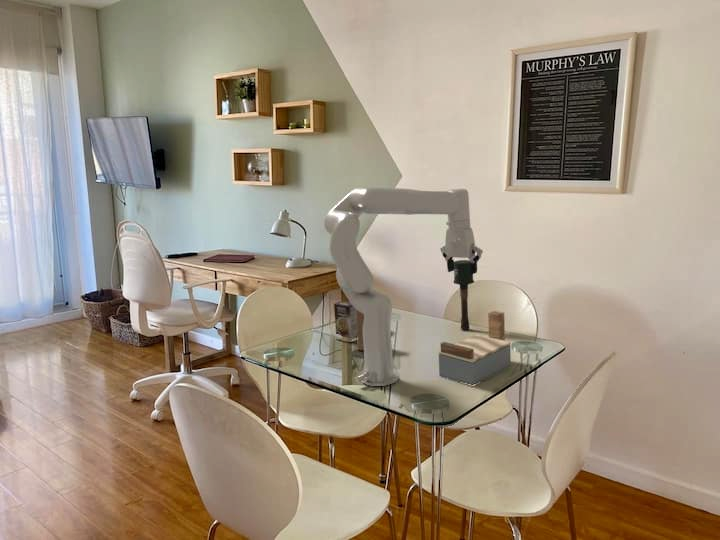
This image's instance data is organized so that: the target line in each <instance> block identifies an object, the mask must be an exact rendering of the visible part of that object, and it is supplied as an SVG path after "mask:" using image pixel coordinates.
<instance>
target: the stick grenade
mask: <svg viewBox="0 0 720 540" xmlns="http://www.w3.org/2000/svg"><path fill="white" fill-rule="evenodd" d="M470 263H471V261H470V260H469V259H462V260H456V261H455V260H454V271H453V276H454V277H453V279H454V280H453V284H455V285H459V290H460V291H459V295H460V304H461V306H460V308H461V309H460V310H461V312H460V313H461V319H460V329H461V331H464V332H465V331H469V330H470V320H469V313H468V308H469V307H468V304H469V303H468V297H469V288H468V287H469V285H471V284H473V283H475V280H474V274H470Z"/></svg>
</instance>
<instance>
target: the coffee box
mask: <svg viewBox="0 0 720 540" xmlns="http://www.w3.org/2000/svg"><path fill="white" fill-rule="evenodd" d="M333 307H334V308H333V309H334V321H335V322H334V323H335V325H334V326H335V335H336V334H339V335H341V336H343V337H346V338H349V339H351V340H352V339H354V338H357V337H358V336H357V321H356V309H355V308H354V307H353V306H352V304H351V303H350V301H349V300H348V301H347V300H342V301H338V302H335V303H334V304H333Z"/></svg>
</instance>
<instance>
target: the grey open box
mask: <svg viewBox="0 0 720 540" xmlns="http://www.w3.org/2000/svg"><path fill="white" fill-rule="evenodd" d="M511 357H512V356H511V344H510V345H508V346H506V347H504V348H502V349H500V350H498V351H496V352H493V353H491V354H489V355H487V356H485V357H483V358H481V359H479V360H477V361H475V362H473V363H472V362H469V361H465V360H461V359H457V358H454V357H450V356H446V355H443V354H439V353H438V370H439V371H438V373H439V377H440V376H441V378H443V377H444V378H443V379H446V378H448V379H447V380H450V379H451V380H450V381H453V380H454V381H453V382H456V381H458V382H457V383H459V382H463V383H467V384H471V385H474V384H477V383H479V382H481V381H483V380H485V379H487V378H489V379H490V377H491V378H493V377H494V376H497V375H498V374H500V373H502V372H503V371H506V370H507V369H510V368H511V366H512V365H511ZM492 376H493V377H492ZM487 380H488V379H487ZM485 381H486V380H485ZM483 382H484V381H483ZM463 383H462V384H463ZM481 383H482V382H481Z"/></svg>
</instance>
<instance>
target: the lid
mask: <svg viewBox="0 0 720 540" xmlns="http://www.w3.org/2000/svg"><path fill="white" fill-rule="evenodd" d="M508 345H510V346H511V342H510V341H507V340H505V341H503V340H499V339H494V338H490V337H489V336H486V335H485V336H484V335H480V334H475V335H473V336H470V337H469V338H466V339H463V340H461V341H458V342H457V343H451V342H447V341H446V342H445V341H442V342H440V350H438V355H439V354H443V355H446V356H450V357H454V358H457V359H461V360H465V361H469V362H472V363H473V362H475V361H477V360H479V359H481V358H483V357H485V356H487V355H489V354H491V353H493V352H496V351H498V350H500V349H502V348H504V347H506V346H508Z"/></svg>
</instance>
